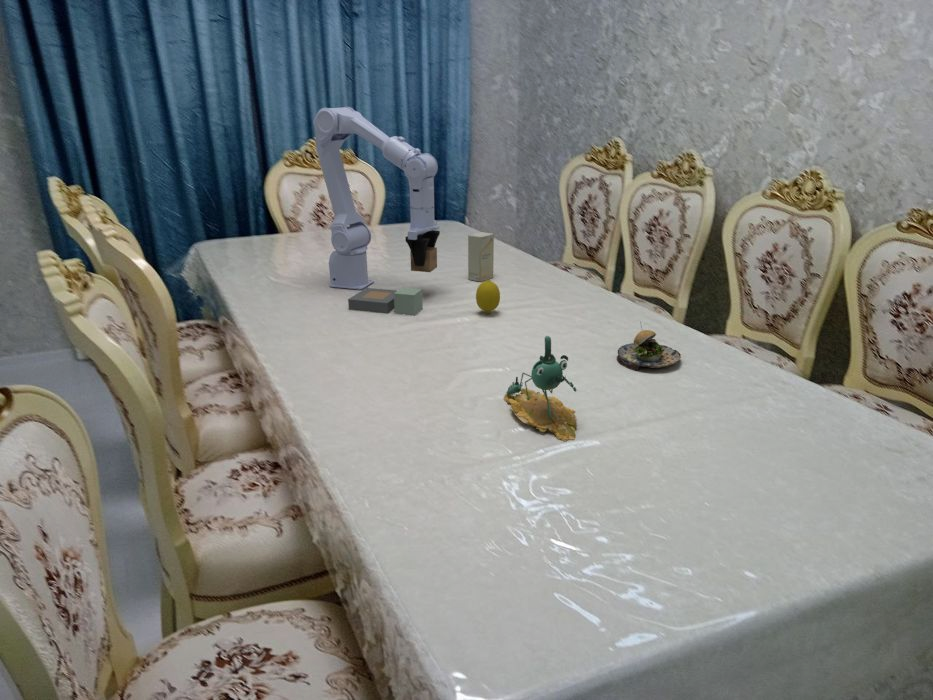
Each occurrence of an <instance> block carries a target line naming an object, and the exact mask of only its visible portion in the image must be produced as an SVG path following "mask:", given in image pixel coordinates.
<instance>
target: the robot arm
mask: <svg viewBox="0 0 933 700" xmlns="http://www.w3.org/2000/svg"><path fill="white" fill-rule="evenodd" d="M315 114H316V115H315V116H314V119H313V120H312V124H313V127H314V130H315V141H314V142H315V145H314V147H315V150H316V153H317V157H318V160H319V164H320V169H321V172H322V175H323V179H324V183H325V185H326V189H327V193H328V196H329V200H330V204H331V207H332V210H333V214H334V218H333V221H332V222H331V224H330V231H331V238H330V240H331V245H332V247H333V249H334V250H332V252H331V253H330V255H329V257H328V258H329V259H328V270H329V280H330V282H329V283H330V284H329V285H328V286H329V287H330V288H338V289H339V288H341V289H350V290H351V289H352V290H361V291H362V290H364V289H366V288H368V287H369V286H371V285H372V284H373V283H374V282H375V280H374V279H369V276H368V275H369V273H368V272H369V270H368V257H367V254H368V253H367V251H368V245H369V244H370V243H371V241H372V234H371V233H372V232H371V230H370V227H368V226H367V224H366V222H365V218H364V217H363V215H361V214H359V213H358V211H356V206H355V202H354V199H353V195H352V192H351V187H350V185H349V181H348V178H347V174H346V173H347V172H346V169H345V166H344V163H343V162H344V161H343V159H342V154H341V150H340V149H342V146H343V145H344V142H345V141H346V140H347V139H349V137H351V136H352V135H353V134H355V135H356V136H359V137H360V138H362V139H363V140H365V141H366V142H368V143H370V144H372V145H373V146H375V147H377V148H378V149H380V150H381V153H382V156H383V158H385V159H386V160H387V161H389V162H390V163H392V164H393V165H394V166H396V167H398V168H399V169H400V170H402V171H403V173H404V175H405V177H406V178H407V180H408V186H409V207H410V208H409V213H410V225H409V230H407V236H405V243H406V244H407V245H408V247H409V250H410V251H411V252H412V256H413V260H414V263H415V266H424V263H425V255H426V248H427V247H436V243H437V242H438V241H437V240H438V238H439V236H440V234H441V231H440V230H439V229H440V225H438V224H437V220H435V183H434V182H435V176H436V175H437V173H438V171H439V170H438V169H439V165H438V161H437V159H436V158H435V157H434V156H433V155H432V154H431V153H427V152H425V153H422V152H421V151H422V150H421V149H420V148H418V147H417V148H415V147H413V146H412V145H410V144H409V143H407V142H406V138H404V137H403V136H397V135H394V136H390V137H389V135H387V134H386V133H385V132H384V131H382V130H381V129H379V128H378V127H377V126H376V125H374V124H373V123H371V122H370V121H369V120H368V119H366V118H365V117H364V116H363V115H362V113H361V112H359V111H357V110H355V109H354V108H352V107H351V106H343V107H322V108H320V109H319V110H318V111H317V112H316V113H315Z"/></svg>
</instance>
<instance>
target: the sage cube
mask: <svg viewBox="0 0 933 700" xmlns="http://www.w3.org/2000/svg"><path fill="white" fill-rule="evenodd" d="M394 308H395V309H394V314H395V315H403V314H405V316H412V315H413V316H417V315H418V314H419V313H420V312H421V311H422V310H423V309H424V308H423V288H415V287H413V288H412V287H405V286H402V287H401V288H399V289H398V290H397V291H396V292H395V293H394Z"/></svg>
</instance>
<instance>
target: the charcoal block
mask: <svg viewBox="0 0 933 700" xmlns="http://www.w3.org/2000/svg"><path fill="white" fill-rule="evenodd" d="M396 291H398V290H395V289H385V288H374V287H365V288H364V289H361V291H359V292H358V293H356V294H354V295H353V296H350V298H348V299H347V303H348V310H349V311H356V312H357V311H358V312H367V313H378V314H386V315H387V314H389V313H391V312H392V311H395V308H394V293H395V292H396Z"/></svg>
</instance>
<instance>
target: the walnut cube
mask: <svg viewBox="0 0 933 700" xmlns="http://www.w3.org/2000/svg"><path fill="white" fill-rule="evenodd" d="M409 253H410V255H409V256H410V271H411V272H420V273H421V272H422V273H423V272H425V273H431V272H433V271H434V270H436V269H437V268H438V248H437V247H436V246H435V247H427V248H426V255H425V263H424V266H415V263H414V260H413V256H412V252H411V250H410V252H409Z"/></svg>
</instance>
